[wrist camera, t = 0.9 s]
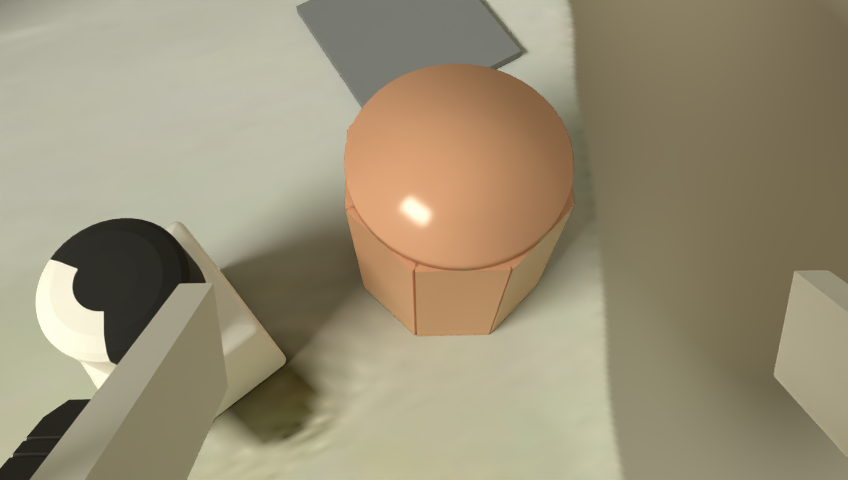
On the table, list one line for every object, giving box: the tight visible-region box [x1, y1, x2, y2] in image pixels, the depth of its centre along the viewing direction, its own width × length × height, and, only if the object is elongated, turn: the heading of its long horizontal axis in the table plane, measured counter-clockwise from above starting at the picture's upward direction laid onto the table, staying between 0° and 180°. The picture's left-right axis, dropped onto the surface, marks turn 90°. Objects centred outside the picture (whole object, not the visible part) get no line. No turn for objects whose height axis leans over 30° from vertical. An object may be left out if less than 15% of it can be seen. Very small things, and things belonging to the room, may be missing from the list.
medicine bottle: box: [36, 218, 286, 418], centre depth 32 cm, size 7×7×12 cm
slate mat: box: [296, 0, 521, 108], centre depth 46 cm, size 11×11×1 cm
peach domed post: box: [344, 64, 574, 336], centre depth 35 cm, size 10×10×11 cm
